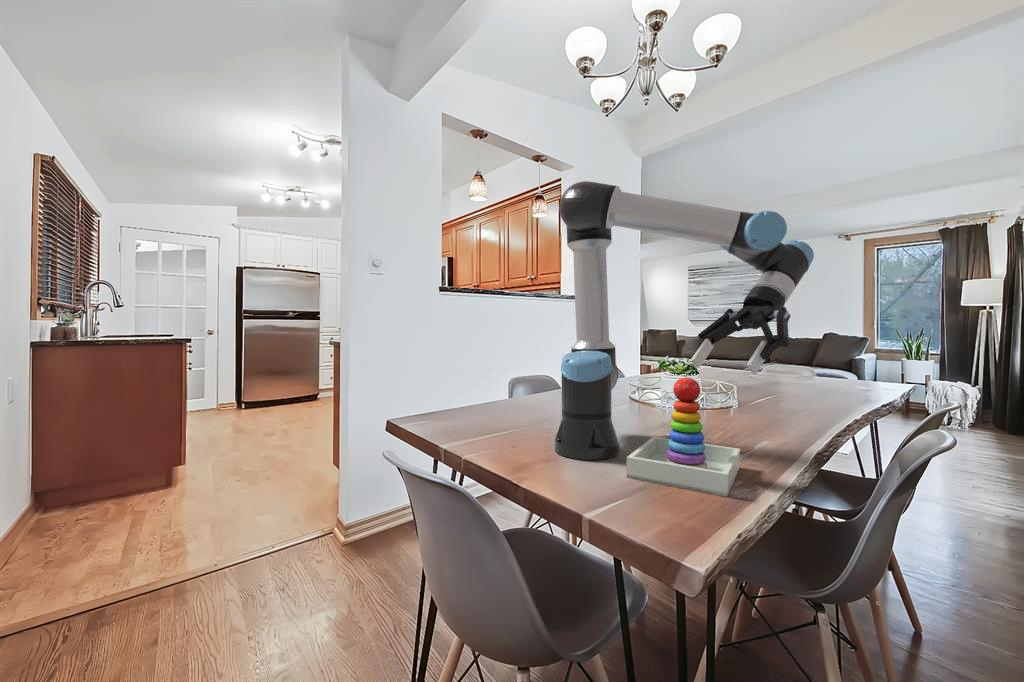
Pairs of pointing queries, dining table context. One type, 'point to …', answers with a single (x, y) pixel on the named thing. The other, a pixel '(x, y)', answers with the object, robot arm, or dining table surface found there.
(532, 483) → the dining table surface
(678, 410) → the stacking toy
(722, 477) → the tray
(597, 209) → the robot arm
